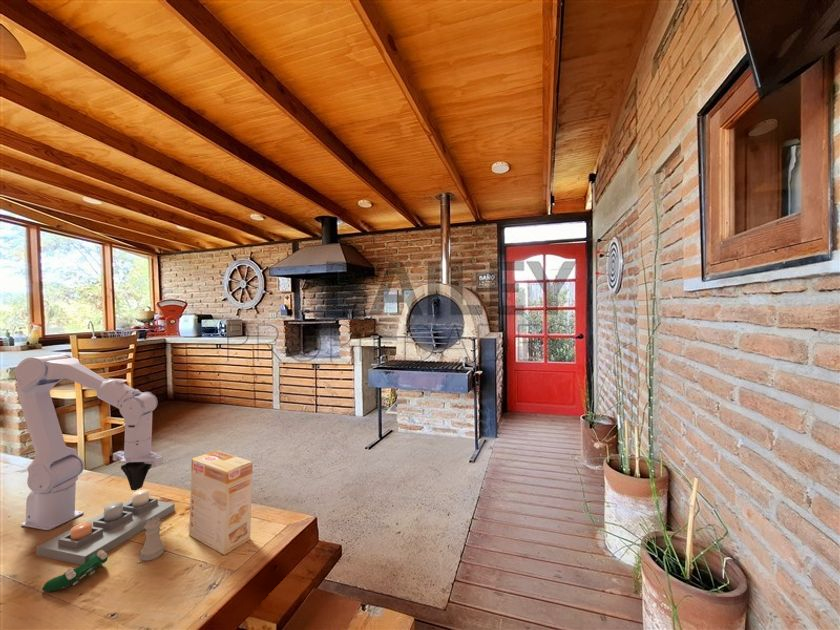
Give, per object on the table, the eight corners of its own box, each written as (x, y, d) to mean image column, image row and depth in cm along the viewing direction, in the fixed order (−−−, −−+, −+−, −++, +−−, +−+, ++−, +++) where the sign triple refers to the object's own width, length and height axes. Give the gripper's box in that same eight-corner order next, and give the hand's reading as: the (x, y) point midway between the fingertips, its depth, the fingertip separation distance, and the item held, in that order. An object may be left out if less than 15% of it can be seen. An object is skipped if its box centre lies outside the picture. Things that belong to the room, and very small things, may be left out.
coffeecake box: (251, 539, 85) (253, 461, 86) (223, 556, 79) (226, 472, 79) (215, 521, 93) (218, 449, 93) (187, 535, 86) (190, 458, 86)
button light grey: (99, 521, 86) (100, 509, 86) (115, 513, 89) (115, 501, 89) (111, 523, 85) (111, 511, 85) (126, 515, 89) (126, 503, 89)
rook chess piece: (168, 551, 80) (169, 517, 80) (148, 564, 76) (149, 528, 76) (155, 546, 82) (156, 513, 82) (134, 559, 78) (136, 523, 78)
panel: (36, 555, 78) (36, 539, 78) (134, 504, 99) (134, 492, 99) (84, 565, 75) (85, 549, 75) (174, 510, 97) (174, 498, 97)
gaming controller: (48, 604, 67) (65, 587, 66) (38, 587, 68) (55, 570, 67) (101, 571, 76) (116, 555, 75) (92, 556, 77) (107, 541, 76)
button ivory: (128, 506, 93) (128, 495, 93) (141, 499, 96) (141, 488, 96) (139, 507, 92) (139, 496, 92) (152, 501, 96) (152, 490, 96)
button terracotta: (66, 543, 79) (66, 530, 79) (84, 533, 83) (84, 521, 83) (78, 545, 78) (78, 532, 78) (95, 535, 82) (96, 523, 82)
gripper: (101, 441, 91) (99, 492, 91) (145, 446, 88) (143, 499, 88) (128, 432, 98) (127, 480, 98) (170, 437, 95) (169, 486, 95)
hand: (136, 488), depth 93 cm, fingers closed
